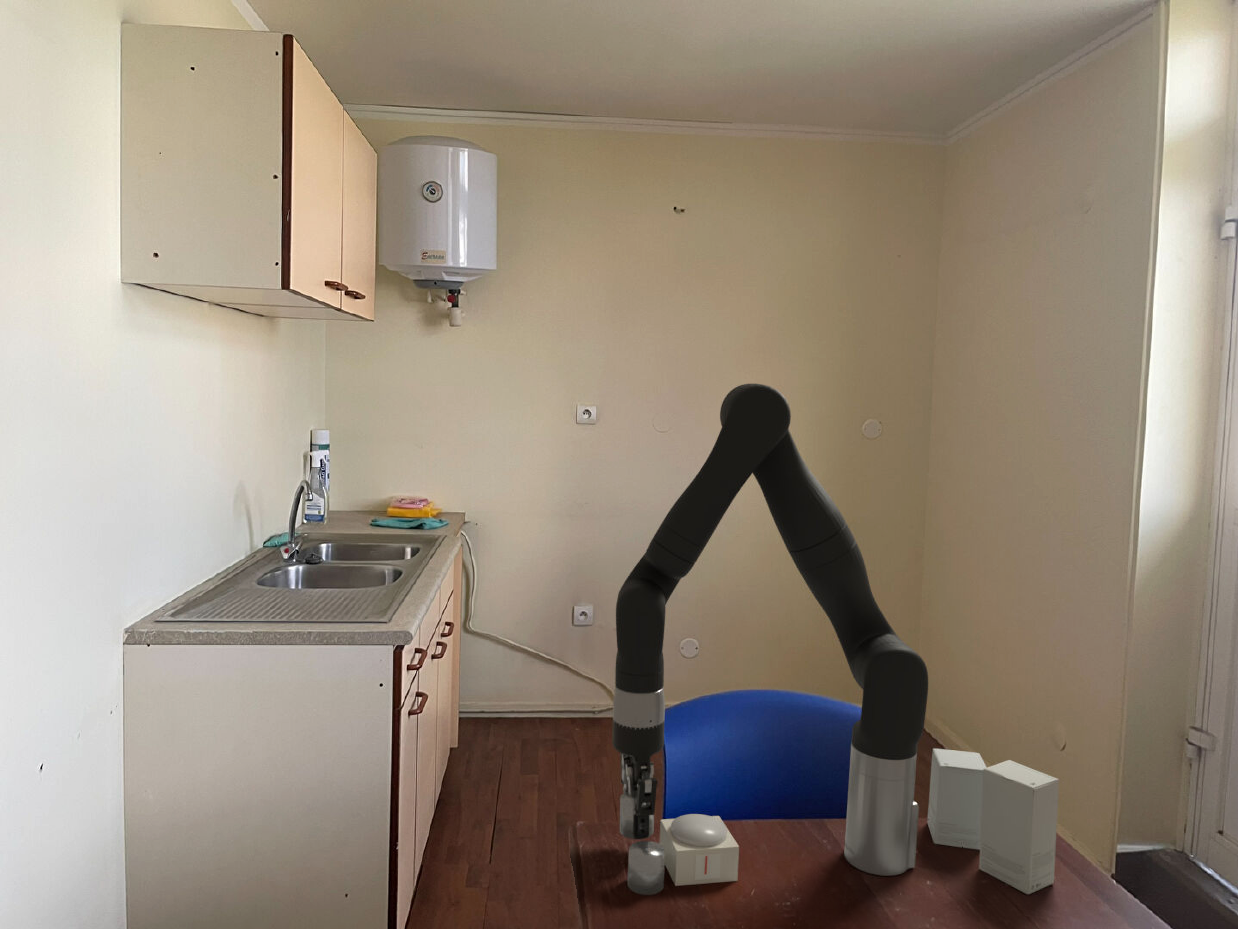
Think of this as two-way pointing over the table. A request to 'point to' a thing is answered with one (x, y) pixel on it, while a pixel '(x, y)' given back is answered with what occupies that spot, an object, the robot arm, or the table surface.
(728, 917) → the table surface
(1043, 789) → the skincare box
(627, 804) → the cylinder
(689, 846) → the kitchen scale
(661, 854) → the cylinder
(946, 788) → the supplement box
